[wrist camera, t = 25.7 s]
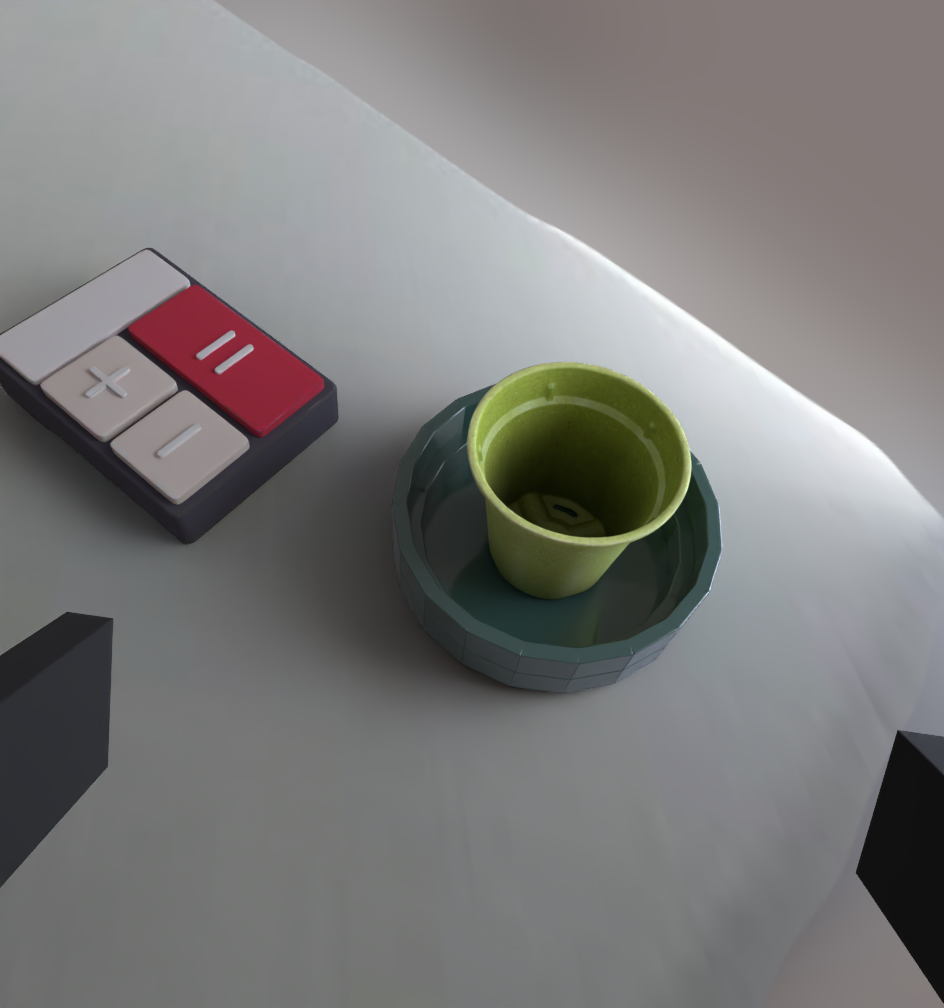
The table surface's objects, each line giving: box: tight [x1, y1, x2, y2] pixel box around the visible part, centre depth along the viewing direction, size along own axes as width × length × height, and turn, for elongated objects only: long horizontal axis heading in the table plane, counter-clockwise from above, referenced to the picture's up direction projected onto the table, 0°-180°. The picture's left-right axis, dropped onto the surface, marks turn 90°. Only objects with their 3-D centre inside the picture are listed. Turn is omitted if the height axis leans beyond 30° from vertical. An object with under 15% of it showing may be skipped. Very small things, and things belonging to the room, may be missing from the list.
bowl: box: [392, 384, 722, 693], centre depth 37 cm, size 15×15×4 cm
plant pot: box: [467, 362, 691, 599], centre depth 35 cm, size 9×9×9 cm
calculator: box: [0, 248, 338, 544], centre depth 41 cm, size 11×4×15 cm
